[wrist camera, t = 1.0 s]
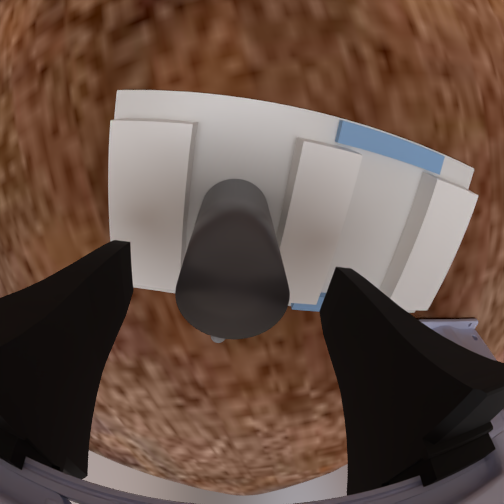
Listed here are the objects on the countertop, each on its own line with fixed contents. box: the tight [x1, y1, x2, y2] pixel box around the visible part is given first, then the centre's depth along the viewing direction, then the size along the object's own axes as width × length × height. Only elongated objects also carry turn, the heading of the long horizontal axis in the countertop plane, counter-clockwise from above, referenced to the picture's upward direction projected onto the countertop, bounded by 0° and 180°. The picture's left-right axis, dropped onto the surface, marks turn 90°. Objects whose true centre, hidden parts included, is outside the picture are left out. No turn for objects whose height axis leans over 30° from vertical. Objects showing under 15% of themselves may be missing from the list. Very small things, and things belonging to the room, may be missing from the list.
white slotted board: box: [108, 90, 478, 313], centre depth 16 cm, size 22×12×2 cm, turn 81°
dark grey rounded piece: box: [175, 179, 290, 343], centre depth 14 cm, size 4×10×8 cm, turn 171°
